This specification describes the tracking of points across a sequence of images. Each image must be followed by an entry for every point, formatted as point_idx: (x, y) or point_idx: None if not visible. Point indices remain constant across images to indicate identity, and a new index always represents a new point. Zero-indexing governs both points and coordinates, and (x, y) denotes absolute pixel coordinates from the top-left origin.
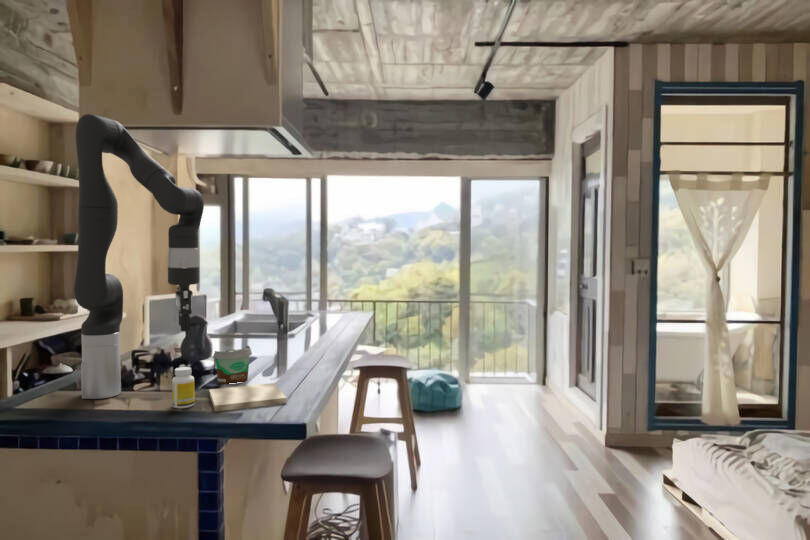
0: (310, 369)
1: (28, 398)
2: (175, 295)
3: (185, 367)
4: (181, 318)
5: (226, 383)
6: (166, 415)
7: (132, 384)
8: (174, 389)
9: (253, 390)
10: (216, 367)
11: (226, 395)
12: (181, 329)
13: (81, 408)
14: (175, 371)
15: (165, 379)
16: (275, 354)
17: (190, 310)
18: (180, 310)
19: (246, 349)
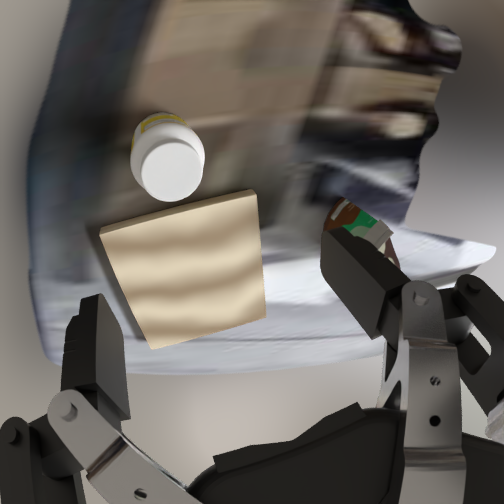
0: (357, 333)
1: None
2: (428, 477)
3: (191, 177)
4: (76, 375)
5: (328, 217)
6: (82, 116)
7: (398, 15)
8: (139, 132)
9: (217, 291)
10: (365, 212)
11: (185, 244)
12: (83, 304)
13: None
14: (154, 146)
15: (413, 84)
16: (456, 268)
17: (46, 478)
18: (27, 449)
19: None
